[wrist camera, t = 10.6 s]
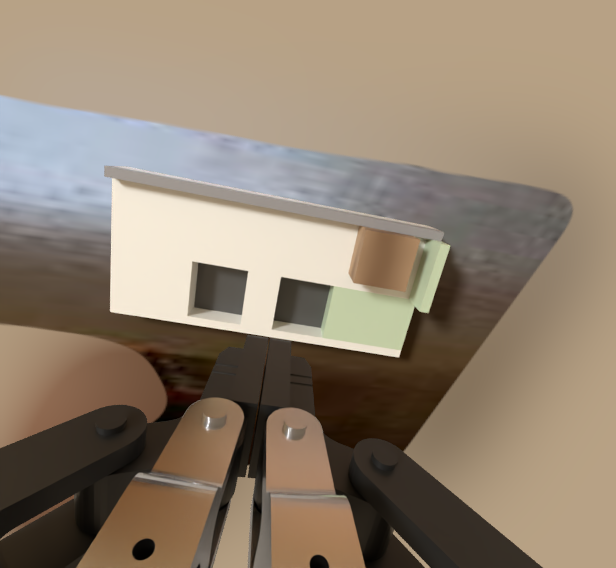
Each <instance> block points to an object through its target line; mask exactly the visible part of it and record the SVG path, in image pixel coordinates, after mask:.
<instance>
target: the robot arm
mask: <svg viewBox="0 0 616 568" xmlns="http://www.w3.org/2000/svg"><path fill="white" fill-rule="evenodd" d="M267 344H268V338H264V337H258V336H251V335H247V338H246V342H245V345H244V349H240V348H234V347H228V348H227V349H226V350H224V351H223V352H221V353H220V354H219V356H218V359H217V361H216V364H215V366H214V368H213V371H212V373H211V375H210V378H209V380H208V382H207V385H206V387H205V390H204V392H203V394H202V397H201V399H200V400H199V401H197V402H195V403H194V404H192V405H191V406H190V407H189V408H188V409H187V411H186V412H185V414H184V416H183V417H181V418H178V419H175V420H171V421H165V422H156V423H147V418H146V416H145V414H144V413H143V412H142V411H141V410H139V409H137V408H135V407H132V406H127V405H112V406H107V407H103V408H99V409H97V410H94V411H92V412H89V413H87V414H84V415H82V416H79V417H77V418H74V419H72V420H69V421H67V422H64V423H62V424H59V425H57V426H54V427H52V428H50V429H47V430H45V431H42V432H40V433H37V434H35V435H32V436H30V437H27V438H25V439H23V440H20V441H17V442H15V443H12V444H10V445H7V446H5V447H2V448H0V539H1V538H2V537H3V536H4V535H5V534H6V533H8V532H9V531H11V530H12V529H14V528H15V527H17V526H19V525H20V524H22V523H24V522H26V521H28V520H30V519H31V518H33V517H35V516H37V515H38V514H40V513H42V512H44V511H46V510H47V509H49V508H51V507H53V506H54V505H56V504H58V503H60V502H62V501H63V500H65V499H67V498H68V497H70V496H72V495H74V499H72V500H70V501H69V502H67V503H65V504H63V505H62V506H60V507H58V508H57V509H55V510H53V511H51V512H49V513H48V514H46V515H45V516H42V517H41V518H39V519H37V520H35V521H34V522H32V523H30V524H29V525H27V526H25V527H23V528H22V529H20V530H18V531H16V532H14V533H13V534H11V535H9V536H7V537H6V538H4V539H2V540H1V541H0V568H213V564H214V561H215V557H216V554H217V550H218V546H219V543H220V539H221V535H222V532H223V529H224V525H225V521H226V518H227V514H228V511H229V507H230V502H231V498H232V496H233V494H234V492H235V487H236V482H237V477H245V475H246V470H247V464H248V458H249V452H250V446H251V441H252V435H253V429H254V423H255V418H256V412H257V406H258V400H259V394H260V388H261V381H262V375H263V369H264V363H265V357H266V350H267ZM311 378H312V375H311V367H310V365H309V364H308V363H307V361H306V360H305V359H304V358H301V357H294V356H291V341H284V340H278V339H271V338H270V343H269V349H268V354H267V360H266V366H265V372H264V377H263V383H262V389H261V395H260V402H259V408H258V415H257V421H256V428H255V434H254V440H253V447H252V453H251V460H250V466H249V473H248V478H256V479H255V487H254V494H253V499H252V504H251V514H250V533H249V552H248V568H424V567H423V565H422V564H421V563H420V562H419V561H418V560H417V559H416V558H415V557H414V556H413V555H412V554H411V553H410V552H409V551H408V549H407V548H406V547H405V546H404V545H403V544H402V543H401V542H400V541H399V540H398V539H397V538H396V537H395V536H394V535H393V531H394V530H395V531H396V532H397V533H398V534H399V535H400V536H401V537H402V538H403V539H404V540H405V541H406V542H407V543H408V544H409V546H411V547H412V549H413V550H414V551H415V552H416V553H417V554H418V555H419V556H420V557H421V558H422V559H423V560H424V561H425V562H426V563H427V564H428V565H429V566H430V567H431V568H542V567H541V566H540V565H539V564H538V563H536V562H535V561H534V560H533V559H532V558H530V557H529V556H528V555H527V554H525V553H524V552H523V551H522V550H521V549H519V548H518V547H517V546H516V545H515V544H514V543H512V542H511V541H510V540H509V539H507V538H506V537H505V536H504V535H503V534H501V533H500V532H499V531H498V530H497V529H495V528H494V527H493V526H492V525H491V524H489V523H488V522H487V521H486V520H484V519H483V518H482V517H481V516H480V515H479V514H477V513H476V512H475V511H473V509H471V508H470V507H469V506H468V505H466V504H465V503H464V502H463V501H462V500H460V499H459V498H458V497H457V496H456V495H454V494H453V493H452V492H451V491H450V490H448V489H447V488H446V487H445V486H444V485H442V484H441V483H440V482H439V481H438V480H436V479H435V478H434V477H433V476H431V475H430V474H429V473H428V472H427V471H425V470H424V469H423V468H422V467H421V466H419V465H418V464H417V463H416V462H415V461H413V460H412V459H411V458H410V457H409V456H407V455H406V454H405V453H404V452H403V451H401V450H400V449H399V448H397V447H396V446H394V445H393V444H391V443H389V442H387V441H384V440H380V439H373V438H372V439H365V440H362V441H360V442H359V443H358V444H357V445H356V446H355V448H354V449H352V448H350V447H347V446H344V445H342V444H339V443H337V442H335V441H333V440H331V439H330V438H328V437H327V436H326V435H325V434H324V433H323V431H322V427H321V424H320V423H319V421H318V420H317V419H316V418H315V411H314V399H313V387H312V379H311Z"/></svg>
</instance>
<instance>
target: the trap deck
mask: <svg viewBox="0 0 616 568" xmlns="http://www.w3.org/2000/svg"><path fill="white" fill-rule="evenodd" d="M104 176H105V177H110V178H112V227H111V288H110V312H115V313H121V314H128V315H134V316H140V317H147V318H153V319H159V320H165V321H172V322H178V323H184V324H191V325H197V326H203V327H210V328H216V329H222V330H229V331H235V332H241V333H248V334H254V335H260V336H267V337H273V338H279V339H285V340H292V341H298V342H304V343H311V344H317V345H323V346H330V347H336V348H342V349H349V350H355V351H361V352H368V353H374V354H380V355H386V356H393V357H399V356H400V352H401V349H402V346H403V343H404V340H405V336H406V333H407V330H408V327H409V324H410V320H411V317H412V314H413V311H414V308H415V307H416V308H417V309H418V310H419V311H420V312H425V313H429V310H430V307H431V304H432V301H433V298H434V295H435V291H436V288H437V285H438V282H439V279H440V276H441V273H442V270H443V267H444V264H445V261H446V258H447V255H448V252H449V249H450V245H448V244H446V243H444V242H442V238H443V235H444V232H442V231H440V230H437V229H435V228H432V227H430V226H426V225H421V224H416V223H411V222H406V221H401V220H396V219H391V218H386V217H381V216H376V215H370V214H365V213H360V212H355V211H350V210H345V209H340V208H335V207H330V206H325V205H320V204H315V203H309V202H304V201H299V200H294V199H289V198H284V197H279V196H274V195H269V194H264V193H259V192H254V191H248V190H243V189H238V188H233V187H228V186H223V185H218V184H213V183H208V182H203V181H198V180H193V179H188V178H182V177H177V176H172V175H167V174H162V173H157V172H152V171H147V170H142V169H137V168H132V167H124V166H105V171H104ZM359 226H364V227H369V228H374V229H380V230H385V231H390V232H395V233H400V234H405V235H411V236H414V237H416V238H418V239H420V243H419V247H418V250H417V254H416V257H415V261H414V264H413V267H412V271H411V274H410V278H409V281H408V284H407V288H406V291H405V292H402V291H397V290H391V289H385V288H379V287H373V286H367V285H361V284H356V283H353V281H352V279H351V277H350V275H349V274H348V272H349V268H350V263H351V259H352V255H353V250H354V246H355V242H356V238H357V233H358V229H359Z"/></svg>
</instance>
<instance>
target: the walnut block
mask: <svg viewBox="0 0 616 568" xmlns="http://www.w3.org/2000/svg"><path fill="white" fill-rule="evenodd" d="M419 243H420V239H418V238H416V237H414V236H411V235H405V234H400V233H395V232H390V231H385V230H380V229H374V228H369V227H364V226H359V229H358V233H357V238H356V242H355V246H354V250H353V255H352V259H351V263H350V268H349V272H348V274H349V275H350V277H351V279H352V281H353V283H356V284H361V285H367V286H373V287H379V288H385V289H391V290H397V291H402V292H405V291H406V288H407V284H408V281H409V278H410V274H411V271H412V267H413V264H414V261H415V257H416V254H417V250H418V247H419Z"/></svg>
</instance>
